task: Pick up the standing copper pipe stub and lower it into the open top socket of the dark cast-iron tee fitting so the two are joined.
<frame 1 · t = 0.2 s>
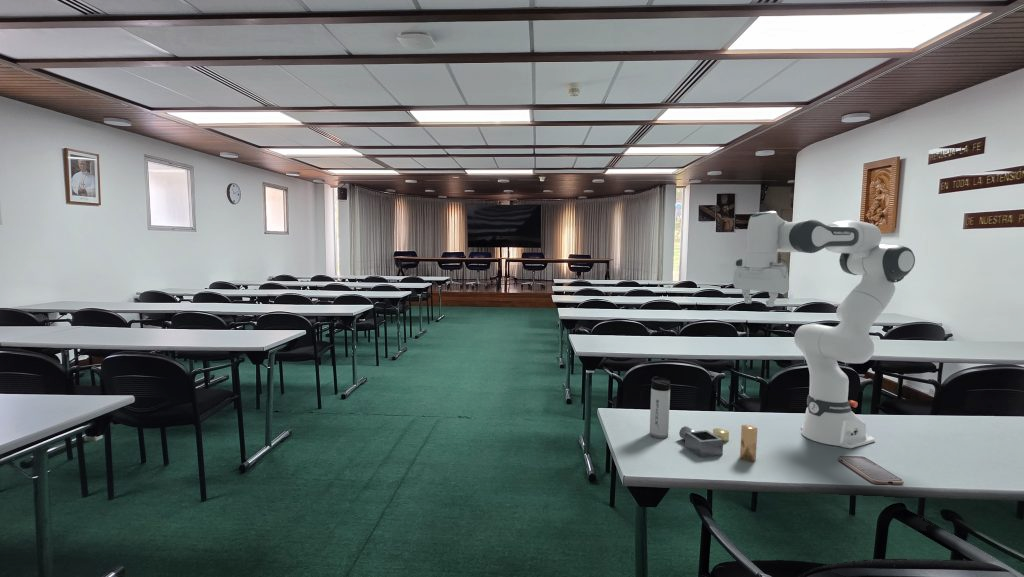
hand: (758, 304, 151), 47 cm above the table, fingers open, 8 cm apart
brass round knob: (720, 439, 160), on the table
travel mug: (658, 435, 163), on the table
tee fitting: (703, 450, 151), on the table
pipe stub: (747, 458, 145), on the table
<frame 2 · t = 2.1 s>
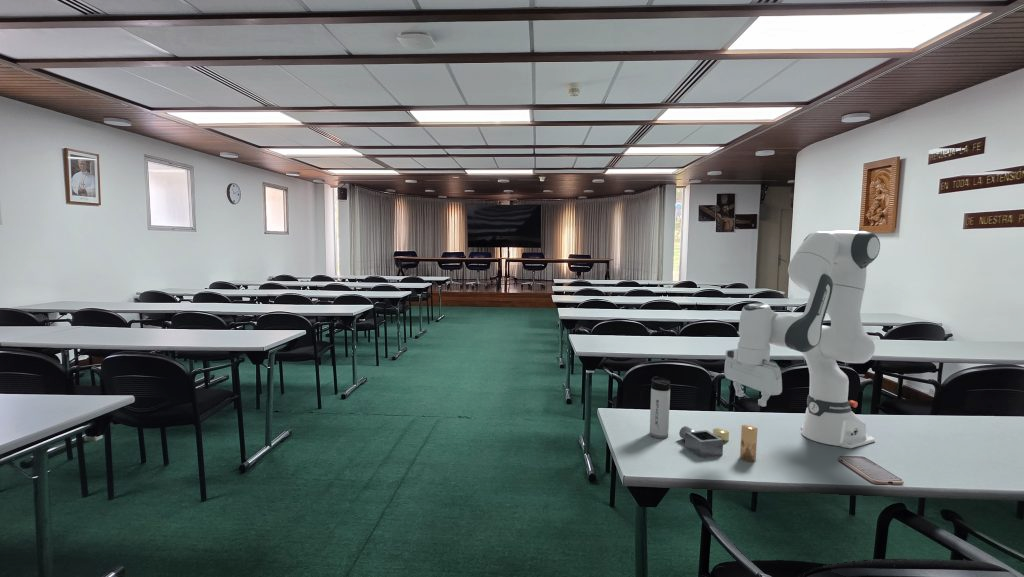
hand: (750, 400, 144), 18 cm above the table, fingers open, 8 cm apart
nothing on the table moved.
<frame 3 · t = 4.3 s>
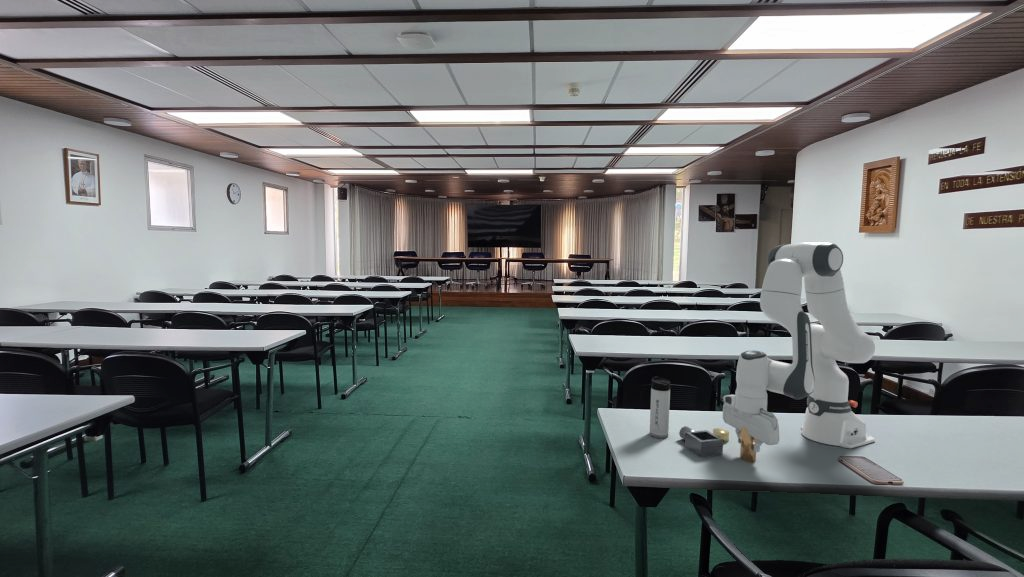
hand: (748, 447, 145), 4 cm above the table, fingers closed on pipe stub, 4 cm apart
pipe stub: (747, 458, 145), on the table, touching gripper
everything else where it was.
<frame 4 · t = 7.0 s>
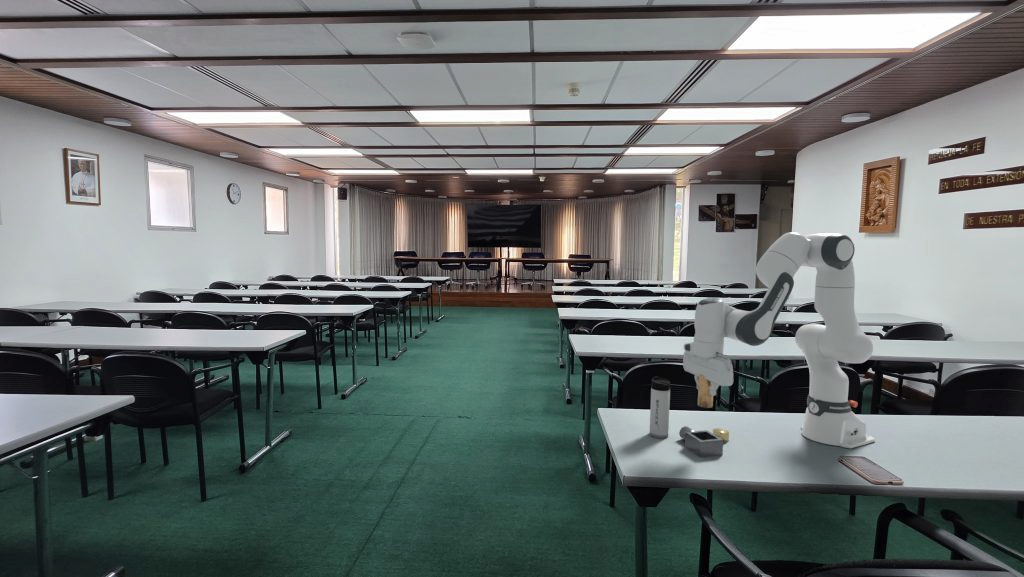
hand: (706, 392, 149), 19 cm above the table, fingers closed on pipe stub, 4 cm apart
pipe stub: (705, 405, 149), point 15 cm above the table, touching gripper
everything else where it was.
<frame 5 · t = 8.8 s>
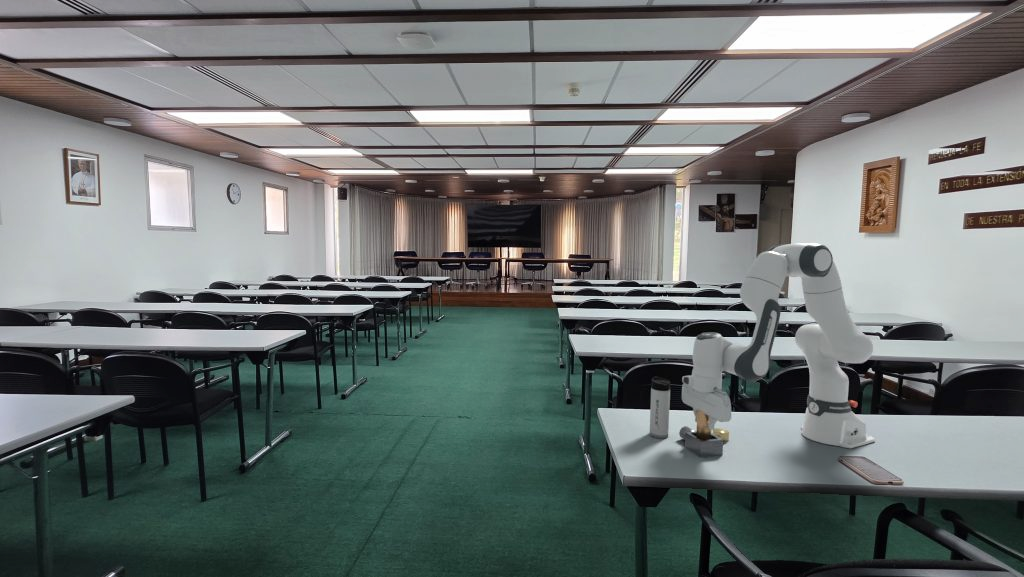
hand: (704, 425, 150), 8 cm above the table, fingers closed on pipe stub, 4 cm apart
pipe stub: (703, 440, 150), point 4 cm above the table, touching gripper
everything else where it was.
when the fingers open (6 cm above the table, at t = 10.1 s): pipe stub stays where it is, resting in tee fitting.
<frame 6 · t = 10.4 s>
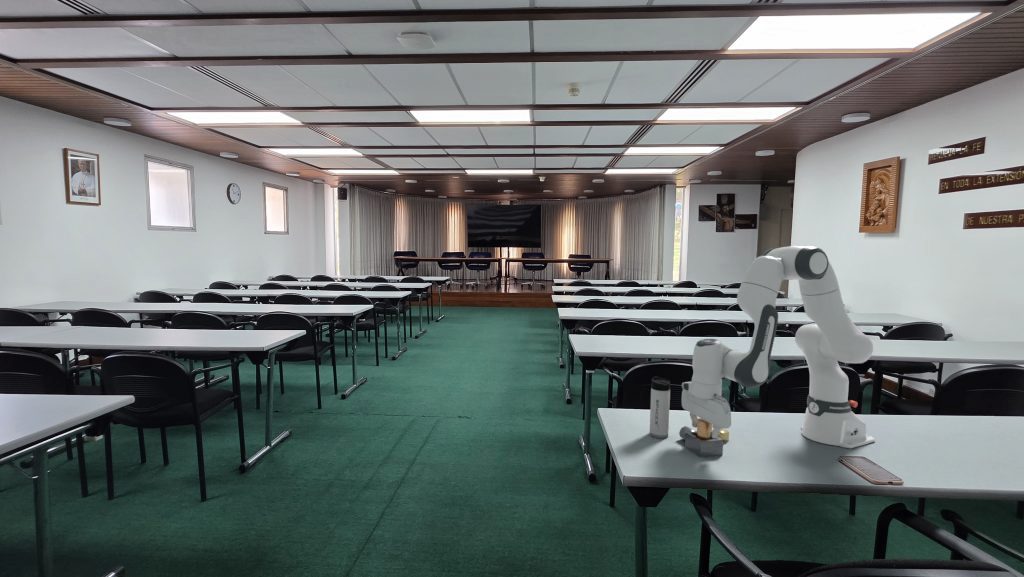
hand: (704, 432, 150), 6 cm above the table, fingers open, 8 cm apart
pipe stub: (703, 450, 151), resting in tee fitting
everything else where it was.
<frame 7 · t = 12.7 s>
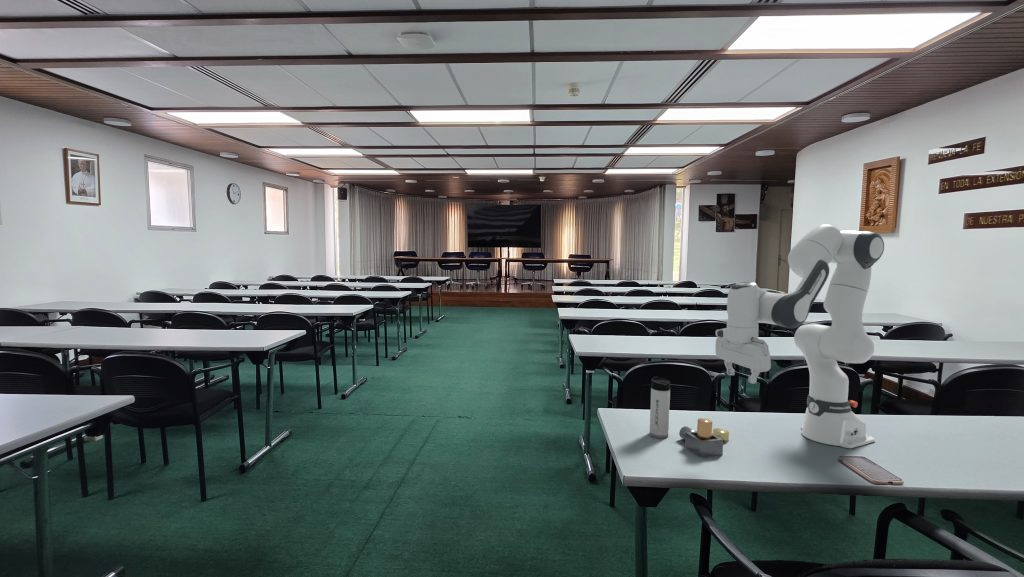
hand: (741, 378, 145), 25 cm above the table, fingers open, 8 cm apart
nothing on the table moved.
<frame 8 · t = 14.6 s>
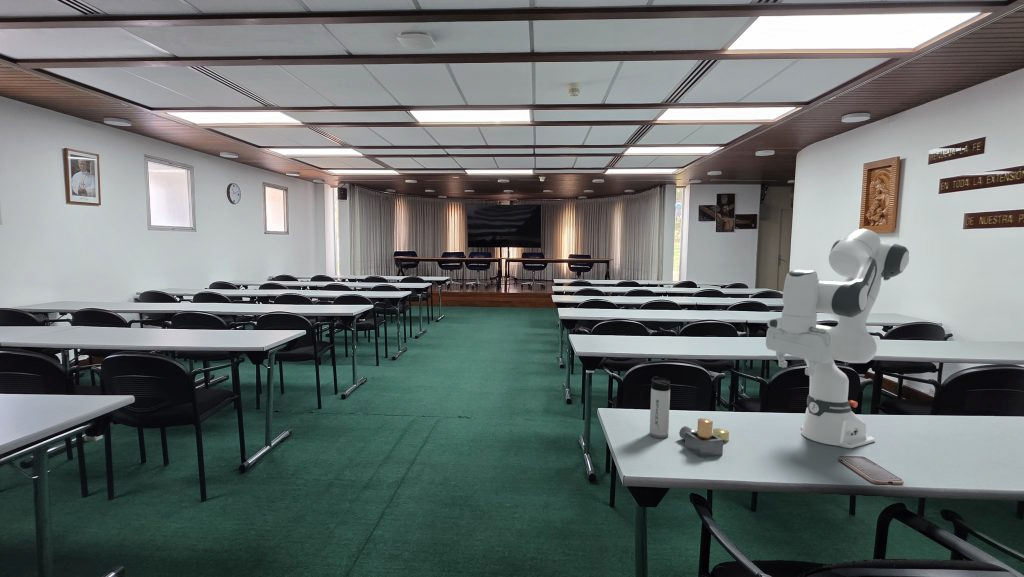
hand: (795, 370, 138), 29 cm above the table, fingers open, 8 cm apart
nothing on the table moved.
at the end: pipe stub 0.0 cm off-centre on the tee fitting, point 0.0 cm above the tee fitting's base; pipe stub tilted 1°; the gripper is holding nothing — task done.
